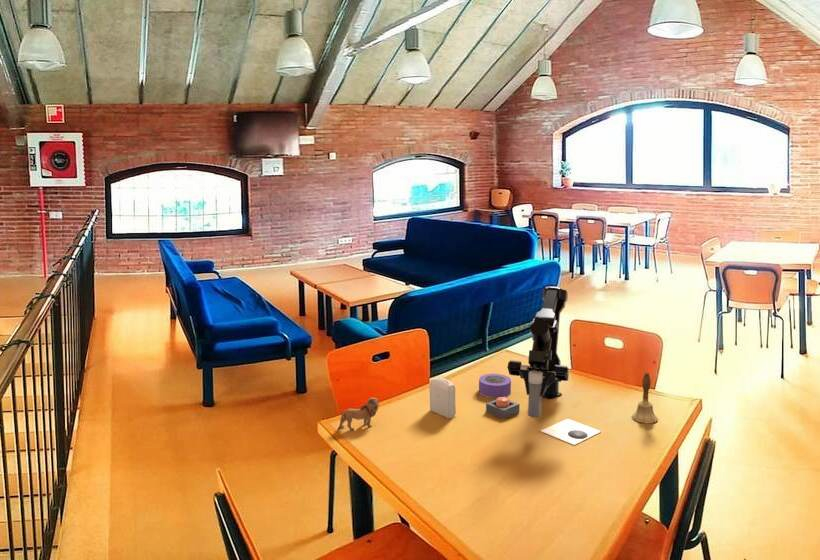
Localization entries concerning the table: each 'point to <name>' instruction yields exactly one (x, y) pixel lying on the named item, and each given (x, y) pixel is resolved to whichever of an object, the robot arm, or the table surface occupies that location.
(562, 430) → the notepad
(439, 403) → the photo printer
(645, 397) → the hand bell
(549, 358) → the robot arm
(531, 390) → the marker
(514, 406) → the button box
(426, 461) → the table surface
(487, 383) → the tape roll
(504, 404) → the button
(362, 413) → the lion figurine
